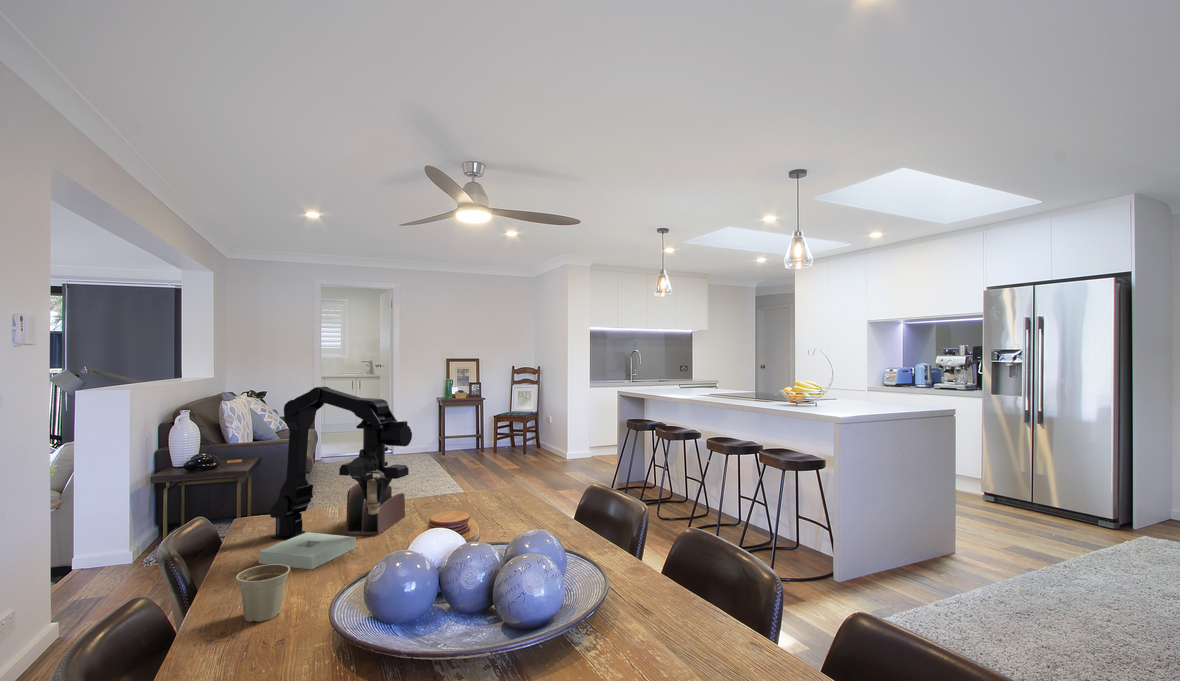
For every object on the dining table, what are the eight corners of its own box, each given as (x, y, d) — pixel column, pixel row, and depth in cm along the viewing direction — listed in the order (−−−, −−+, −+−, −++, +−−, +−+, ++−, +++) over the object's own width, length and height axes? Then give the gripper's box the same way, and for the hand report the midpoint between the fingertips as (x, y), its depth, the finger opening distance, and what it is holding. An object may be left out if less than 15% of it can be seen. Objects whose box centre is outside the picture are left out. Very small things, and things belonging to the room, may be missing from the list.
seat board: (258, 563, 141) (258, 551, 141) (306, 543, 157) (306, 532, 157) (311, 569, 137) (311, 557, 137) (355, 548, 152) (355, 537, 153)
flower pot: (300, 609, 115) (301, 566, 116) (259, 630, 106) (260, 584, 107) (265, 602, 118) (266, 561, 119) (223, 622, 110) (224, 578, 110)
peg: (363, 514, 154) (364, 481, 155) (372, 511, 158) (372, 478, 158) (374, 515, 154) (375, 482, 154) (382, 511, 157) (383, 479, 157)
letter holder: (345, 535, 164) (345, 487, 164) (375, 516, 184) (376, 473, 184) (378, 536, 163) (379, 487, 164) (405, 517, 183) (406, 473, 184)
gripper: (325, 447, 151) (324, 506, 150) (385, 451, 146) (384, 511, 145) (353, 441, 162) (352, 496, 161) (410, 444, 157) (409, 500, 156)
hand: (373, 501), depth 156 cm, fingers closed on peg, 3 cm apart
